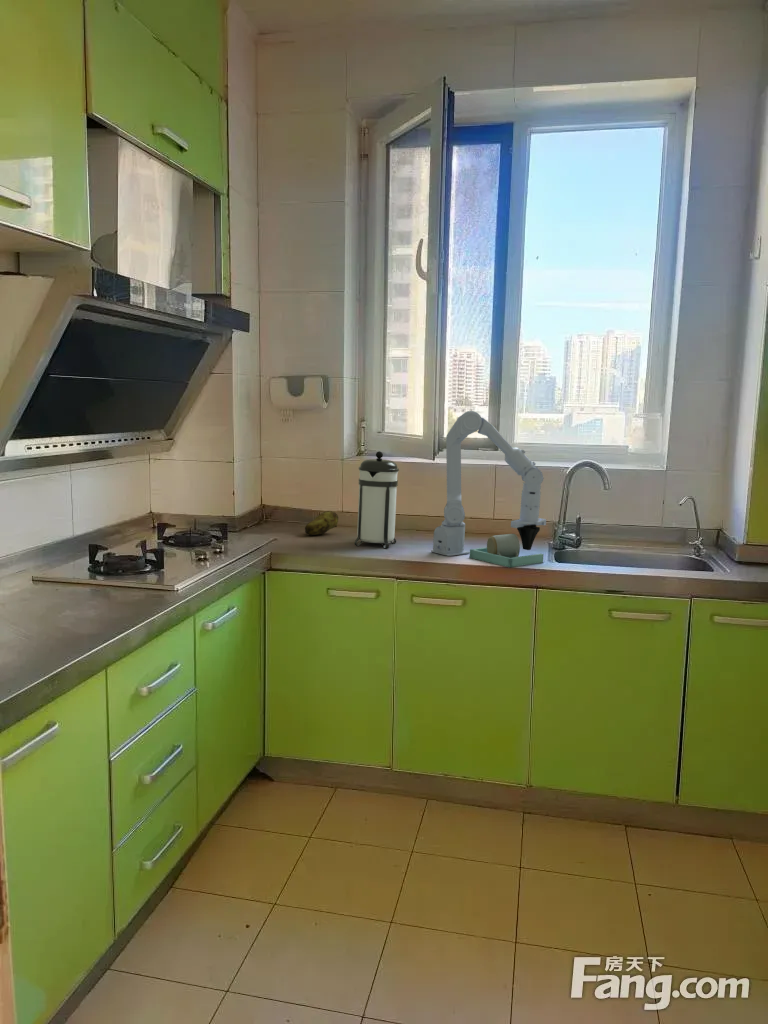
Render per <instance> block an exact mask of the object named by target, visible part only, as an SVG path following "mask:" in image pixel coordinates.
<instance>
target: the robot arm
mask: <svg viewBox="0 0 768 1024" xmlns="http://www.w3.org/2000/svg"><path fill="white" fill-rule="evenodd" d="M475 432H477V433H478V434H480V435H482V436H486V437H487V438H488V439H489V440H490V441H491V442H492V443H493V444H494V445H495V446H496V447H497V448H498V449H499V451H501V452H502V453H503V454H504V461H505V463H507V465H508V466H509V467H510V468H511V469H512V470H513V471H514V472H515V473H516V475H517V476H521V480H522V481H523V482H522V490H521V496H520V499H521V500H520V511H519V512H520V513H519V519H515V520H511V521H510V528H512V529H513V528H514V529H516V530H517V532H518V534H519V537H520V541H521V544H522V545H521V547H522V550H527V551H530V550H532V547H533V543H534V541H535V538H536V537H537V535H538V533H539V532H540V531H541V530H540V529H541V528H540V526H546V525H547V519H546V518H543V517H542V518H541V517H540V505H541V495H542V492H541V490H542V489H541V488H542V483H543V482H544V479H545V477H544V474H543V472H542V471H541V469H539V468H538V466H536V464H537V463H536V462H535V461H532V459H530V458H529V457H528V456H527V455H526V451H525V450H524V449H523V448H522V449H521V448H520V447H512V445H511V444H510V443H509V442H508V441H507V440H506V438H504V436H503V435H502V434H501V433H500V432H499V431H498V430H497V428H496V427H495V426H494V425H493V424H492V423H491V422H489V420H487V419H486V418H484V417H482V416H481V414H479V412H477V411H473V410H469V411H465V412H464V413H462V414H461V415H460V416H458V417H457V419H456V421H455V422H454V424H453V425H452V426H451V428H450V429H449V431H448V432H447V434H446V436H445V444H446V446H445V447H446V449H445V450H446V504H445V506H444V509H443V516H444V520H442V521H441V525H439V526H436V528H435V529H434V531H433V539H432V540H433V541H432V543H433V544H432V549H431V550H430V552H431V553H434V554H438V555H439V554H440V555H442V556H447V557H451V556H459V555H466V554H470V551H467V550H464V549H465V534H466V533H465V532H466V523H465V522H464V520H465V517H466V513H465V508H464V506H463V503H462V444H461V443H462V442H464V440H465V439H466V438H468V436H469V435H472V434H473V433H475Z"/></svg>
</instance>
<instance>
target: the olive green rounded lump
mask: <svg viewBox="0 0 768 1024" xmlns="http://www.w3.org/2000/svg"><path fill="white" fill-rule="evenodd" d="M338 523H339V515H338V514H337V513H336V512H335V511H331V510H326V511H324V512H321V513H320V514H318V516H316V517H315V518H314V519H313V520H311V521H309V522H308V523H307V524H306V525H305V527H304V531H305V532H304V533H305V534H306V535H307V536H308V535H309V536H318V535H322V534H325V533H327V532H328V531H330V530H332V529H333V528H334V529H335V528H337V527H338Z"/></svg>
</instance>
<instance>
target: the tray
mask: <svg viewBox="0 0 768 1024" xmlns="http://www.w3.org/2000/svg"><path fill="white" fill-rule="evenodd" d="M469 552H470V553H469V559H474V560H479V561H483V562H486V563H490V564H494V565H498V566H504V567H506V568H515V567H520V566H527V565H529V566H530V565H535V564H541V563H544V553H535V554H530V555H523V556H518V557H513V558H508V557H504V556H500V555H495V554H491V553H488V552H487V546H486V547H479V548H471V549H469Z"/></svg>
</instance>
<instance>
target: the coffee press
mask: <svg viewBox="0 0 768 1024" xmlns="http://www.w3.org/2000/svg"><path fill="white" fill-rule="evenodd" d="M383 456H384V455H383V451H379V450H378V451H377V452H376V453H375V457H376V458H372V459H370V458H369V459H365V460H363V461H362V462H361V463H360V465H359V466H358V472H359V478H358V503H357V504H358V506H357V507H358V508H357V509H358V510H357V530H356V531H357V534H356V535H357V536H356V539H355V541H354V546H357V547H359V546H360V545H362V544H363V543H371V544H380V545H382V548H383V549H389V548H390V543H391V544H392V545H395V544H396V543H397V539H396V537H395V535H396V533H395V532H396V530H395V529H396V515H397V514H396V512H397V493H398V492H397V491H398V486H399V483H398V482H399V480H398V473H399V471H400V469H399V468H398V464H397V463H396V462H395V461H393V460H391V459H390V460H389V459H383ZM392 541H393V542H392Z"/></svg>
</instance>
